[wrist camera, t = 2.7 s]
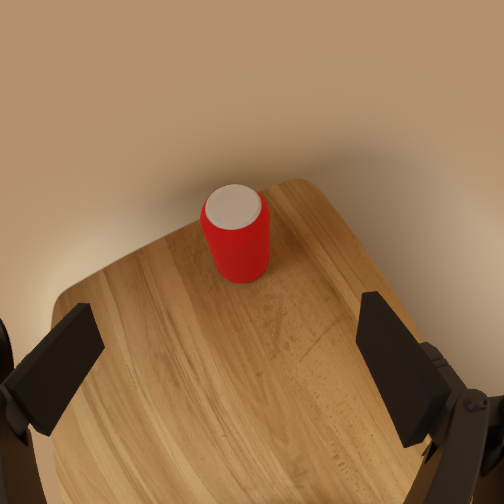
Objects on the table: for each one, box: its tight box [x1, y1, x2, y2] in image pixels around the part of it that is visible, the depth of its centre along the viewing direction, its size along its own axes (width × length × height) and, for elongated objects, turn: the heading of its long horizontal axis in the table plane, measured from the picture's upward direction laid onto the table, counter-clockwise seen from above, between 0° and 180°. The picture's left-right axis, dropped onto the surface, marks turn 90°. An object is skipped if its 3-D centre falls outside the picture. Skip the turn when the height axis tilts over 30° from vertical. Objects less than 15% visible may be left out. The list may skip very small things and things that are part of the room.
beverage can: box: [200, 184, 270, 283], centre depth 29 cm, size 6×6×12 cm
